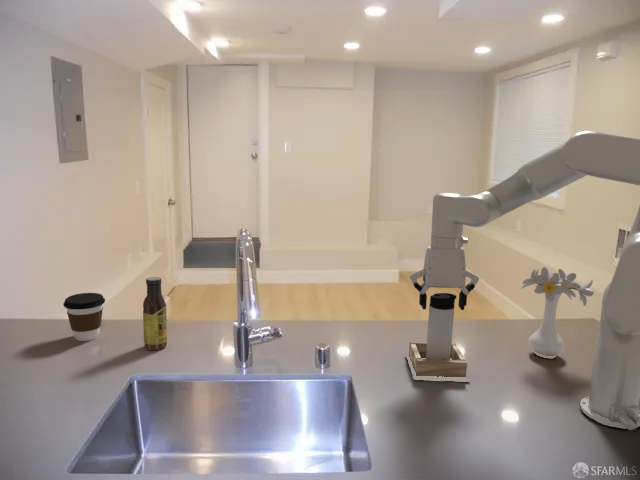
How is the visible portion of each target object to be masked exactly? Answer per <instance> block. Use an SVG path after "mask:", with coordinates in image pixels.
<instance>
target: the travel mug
mask: <svg viewBox="0 0 640 480" xmlns="http://www.w3.org/2000/svg"><path fill="white" fill-rule="evenodd" d="M456 299H457V295H456V294H454V293H448V292H439V293H433V294H432V295H430V297H429V307H428V319H427V320H428V323H427V334H426V335H427V336H426V342H427V347H426V359H435V360H450V356H451V344H452V343H453V341H452V340H453V330H454V329H453V327H454V320H455V319H454V317H455V316H454V315H455V303H456Z"/></svg>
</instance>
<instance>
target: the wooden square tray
mask: <svg viewBox="0 0 640 480" xmlns="http://www.w3.org/2000/svg"><path fill="white" fill-rule="evenodd" d="M426 347H427V341H415V340H414V341H412V340H411V341H409V347H408V348H409V349H408V354H409V357H410V360H411V362H412V365H413V368H414V370H415V372H416V376H437V377H439V376H442V377H443V376H444V377H466V374H467V369H468V361H467V360H466V358H465V357H464V354H463V353H462V351H461V349H459V347H458V345H457V344H456V342H452V344H451V356H450V358H451V359H452V360H435V359H421V358H426Z"/></svg>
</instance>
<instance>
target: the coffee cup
mask: <svg viewBox="0 0 640 480" xmlns="http://www.w3.org/2000/svg"><path fill="white" fill-rule="evenodd" d="M105 302H106V298H105V297H104V296H103V295H102V293H101V294H100V293H98V292H81V293H76V294H73V295H70V296H68V297H66V298H65V299H64V301H63V307H64V308H65V309H66V313H67V314H66V315H67V317H68V321H69V325H70V326H69V327H70V329H71V330H72V335H73V337H74V338H75V340H76V341H78V342H89V341H92V340H95V339H97V338H99V335H100V332H101V331H100V330H101V326H102V319H103V311H104V310H103V309H104V307H103V305H104V304H105Z"/></svg>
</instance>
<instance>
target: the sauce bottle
mask: <svg viewBox="0 0 640 480" xmlns="http://www.w3.org/2000/svg"><path fill="white" fill-rule="evenodd" d="M145 282H146V283H145V284H146V297H145V298H144V300H143V303H142V305H143V306H142V308H143V311H142V321H143V323H142V325H143V343H144V348H145V349H146V350H149V351H158V350H162V349H164V348H166V347H167V344H168V343H167V342H168V328H167V327H168V323H167V321H168V317H167V315H168V314H167V303H166V302H165V299H164V295H163V294H162V292H163V291H162V278H161V277H159V276H152V277H151V276H150V277H147V278H146V279H145Z"/></svg>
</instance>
